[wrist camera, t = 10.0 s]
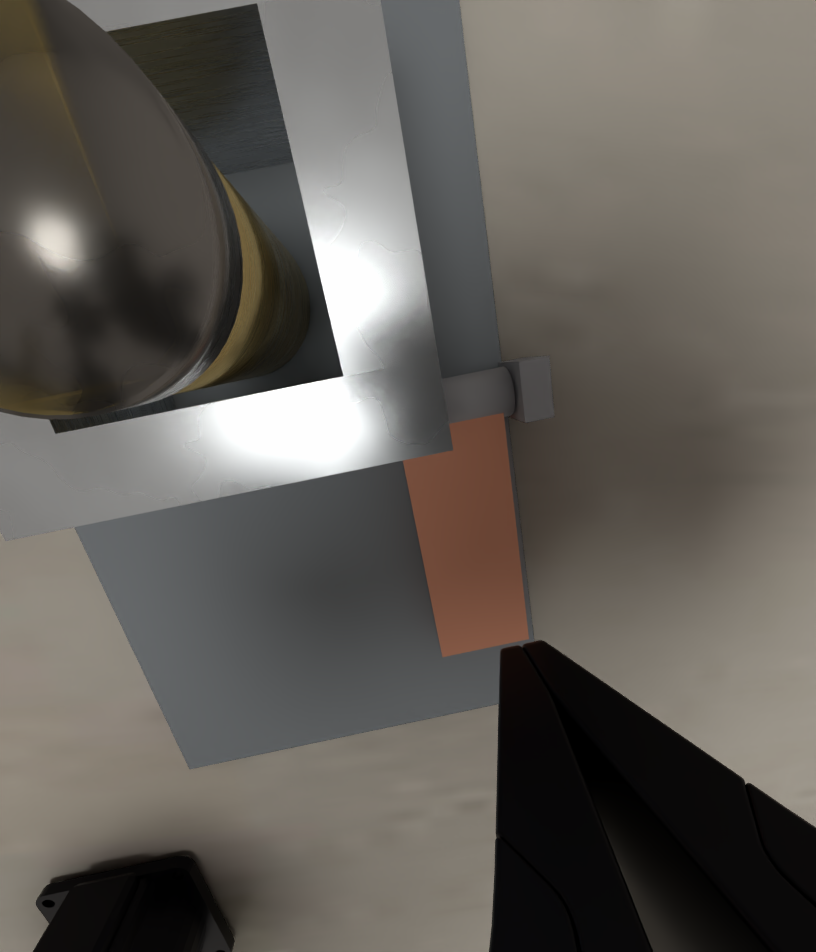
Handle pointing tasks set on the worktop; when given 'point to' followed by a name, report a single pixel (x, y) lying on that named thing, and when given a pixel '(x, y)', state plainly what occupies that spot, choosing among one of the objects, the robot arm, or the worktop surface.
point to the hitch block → (337, 253)
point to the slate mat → (327, 489)
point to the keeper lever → (471, 519)
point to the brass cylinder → (121, 236)
